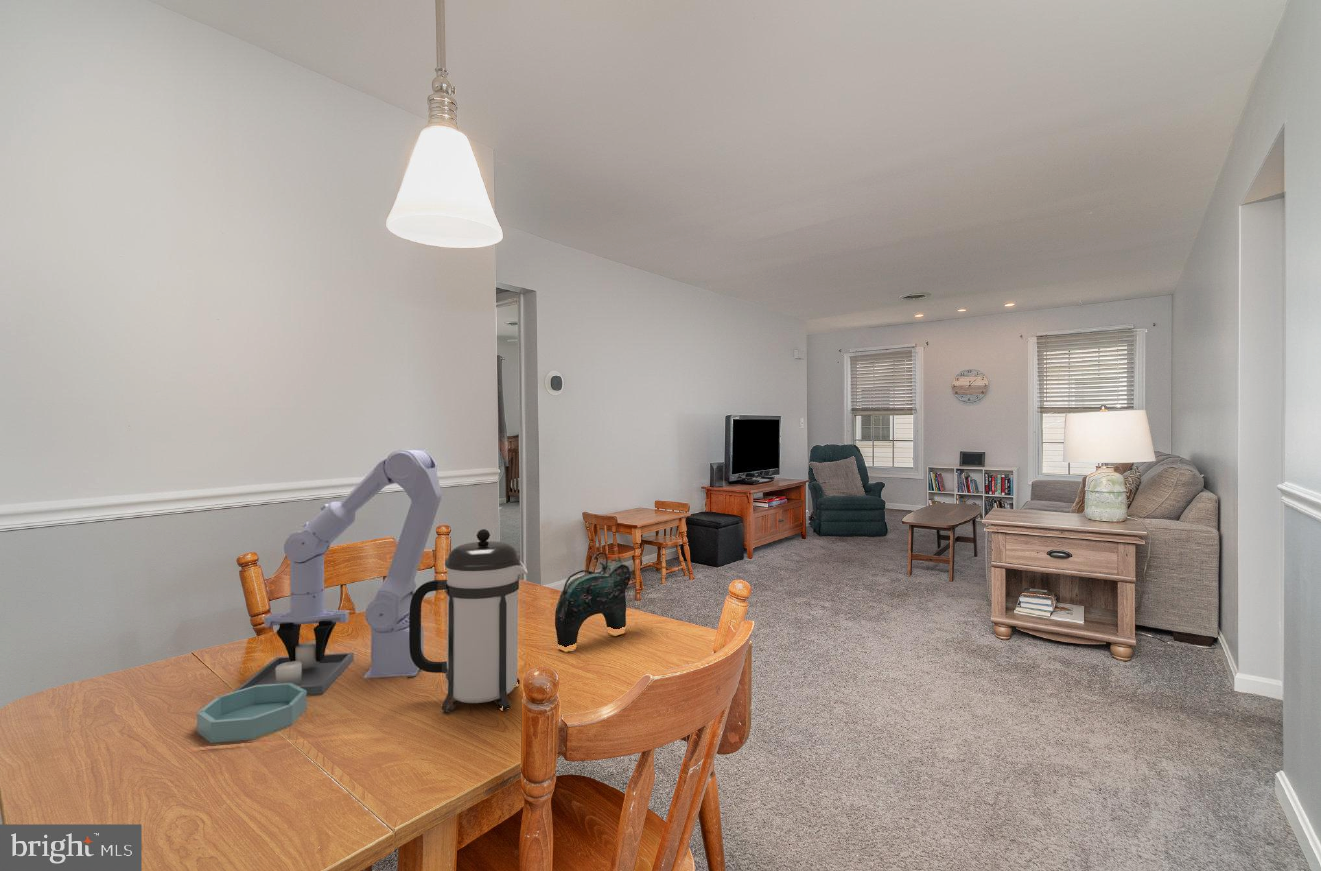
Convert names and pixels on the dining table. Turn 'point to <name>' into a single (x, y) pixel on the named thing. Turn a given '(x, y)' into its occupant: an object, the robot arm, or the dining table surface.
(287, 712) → the bowl
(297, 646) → the pebble
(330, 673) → the parts tray
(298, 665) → the pebble
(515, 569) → the coffee press
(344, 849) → the dining table surface
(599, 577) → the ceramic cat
